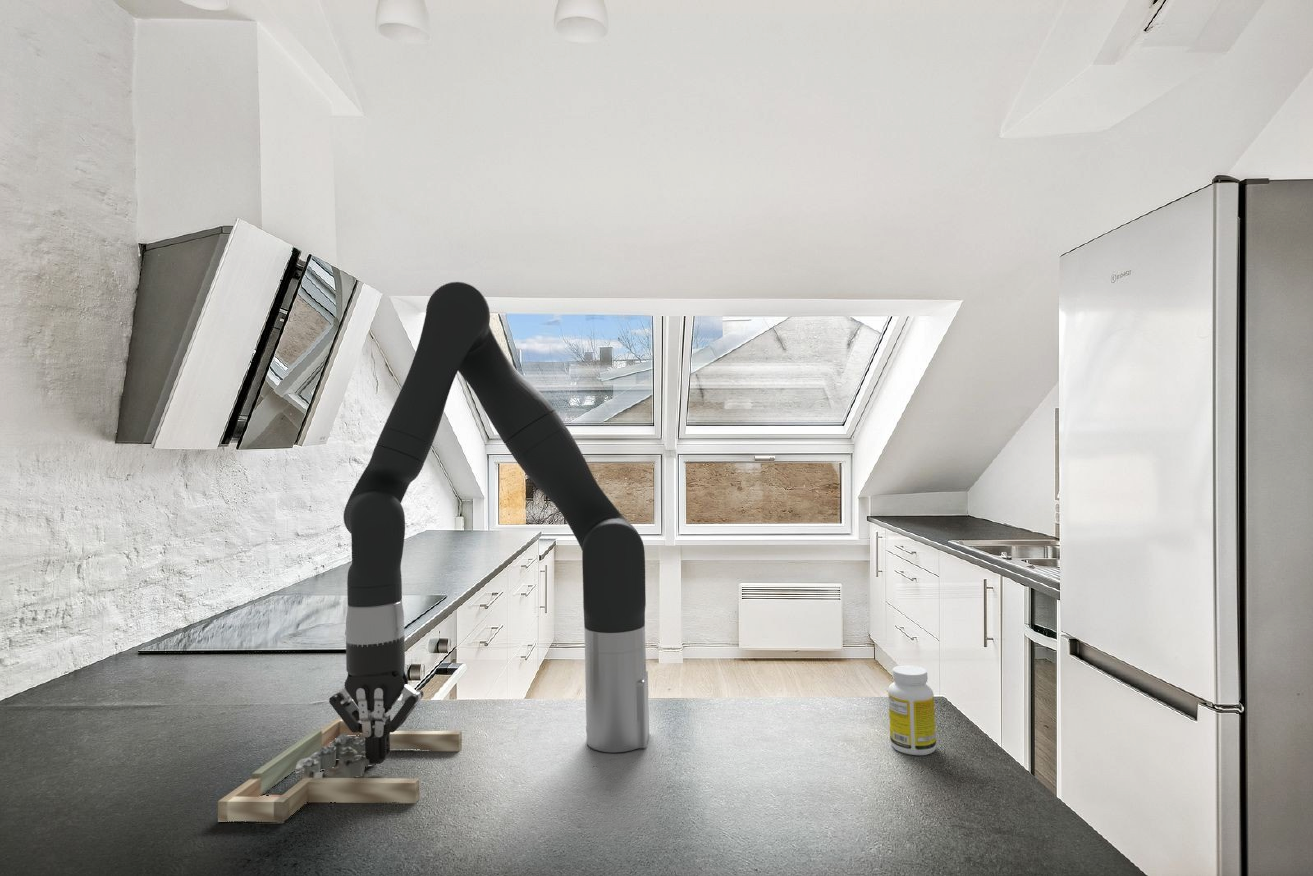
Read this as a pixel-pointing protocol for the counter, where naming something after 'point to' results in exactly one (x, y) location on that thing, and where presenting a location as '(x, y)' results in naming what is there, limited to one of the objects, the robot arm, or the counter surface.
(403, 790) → the box
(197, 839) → the counter surface
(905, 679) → the pill bottle
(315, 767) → the egg carton
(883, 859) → the counter surface
